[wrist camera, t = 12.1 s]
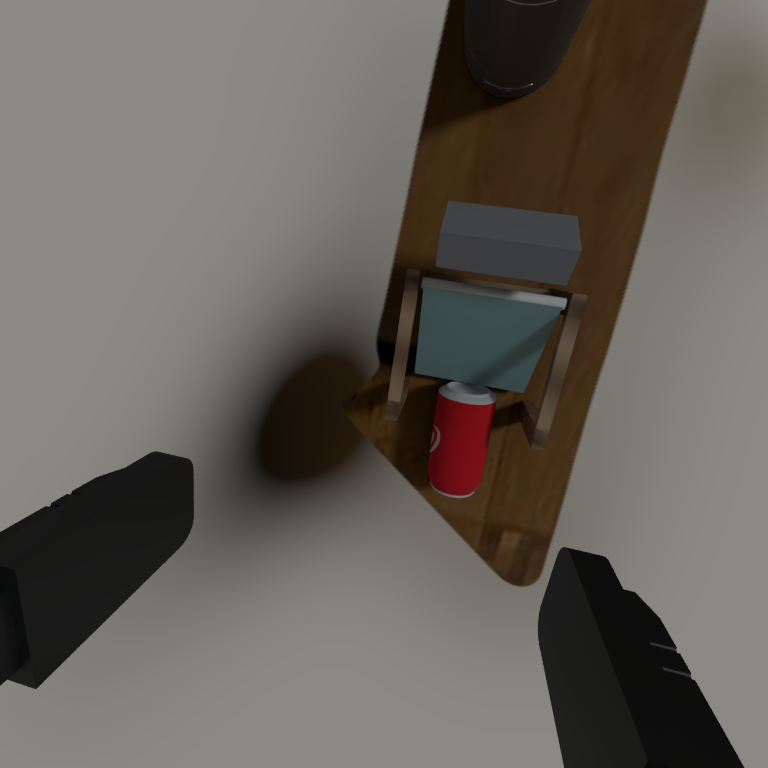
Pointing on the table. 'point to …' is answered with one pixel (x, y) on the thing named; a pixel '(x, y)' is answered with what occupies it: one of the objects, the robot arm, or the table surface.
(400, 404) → the trapdoor frame
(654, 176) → the table surface
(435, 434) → the beverage can
